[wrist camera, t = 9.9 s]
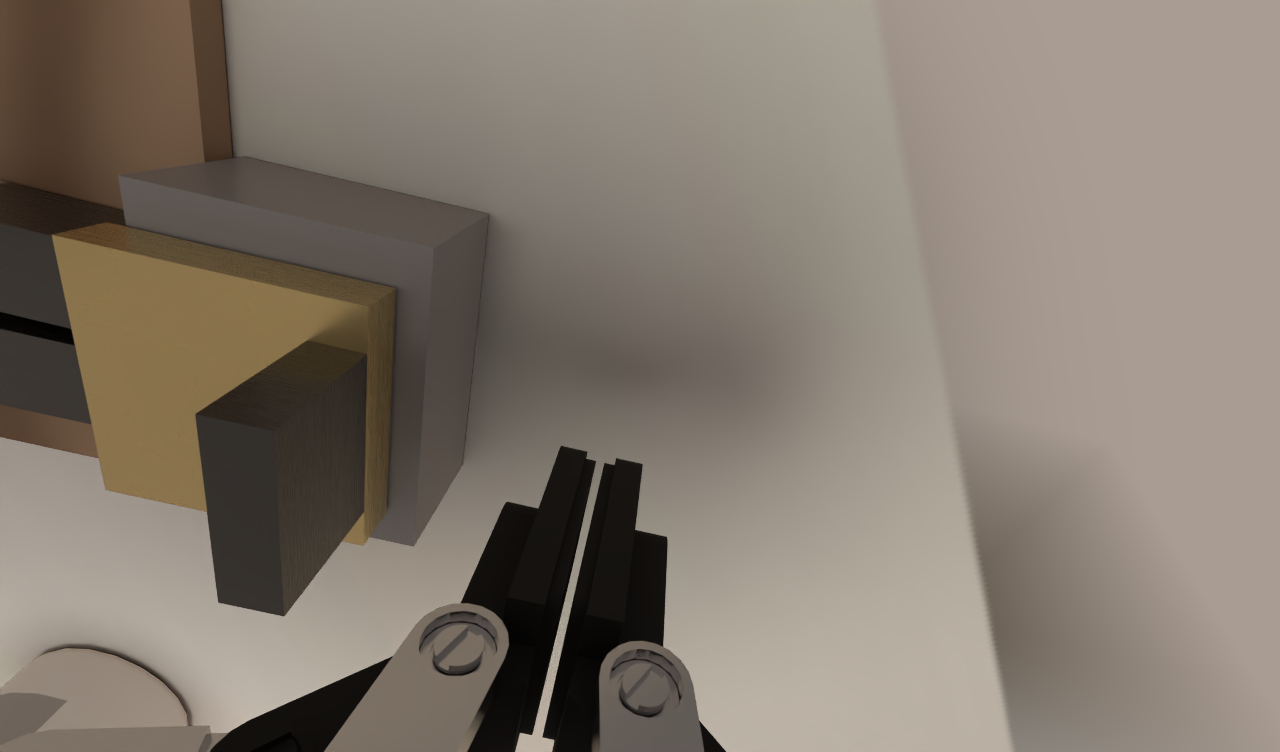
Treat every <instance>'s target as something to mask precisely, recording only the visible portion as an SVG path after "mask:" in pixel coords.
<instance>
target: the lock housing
mask: <svg viewBox="0 0 1280 752" xmlns="http://www.w3.org/2000/svg"><path fill="white" fill-rule="evenodd" d="M118 178H119V184H120V191H121V197H122V203H123V210H124V216H125V223H126V227H130V228H135V229H139V230H143V231H148V232H152V233H156V234H161V235H165V236H169V237H174V238H178V239H183V240H187V241H191V242H196V243H200V244H204V245H209V246H213V247H217V248H222V249H226V250H231V251H235V252H239V253H244V254H248V255H252V256H257V257H261V258H265V259H270V260H274V261H279V262H283V263H287V264H292V265H296V266H300V267H305V268H309V269H314V270H318V271H322V272H327V273H331V274H335V275H340V276H344V277H348V278H353V279H357V280H362V281H366V282H370V283H375V284H379V285H383V286H388V287H392V288H396V294H395V319H394V343H393V368H392V392H391V417H390V441H389V466H388V490H387V513H386V515H385V516H384V517H383V519H382V520H381V522H380V523H379V524H378V526H377V527H376V529H375V530H374V531H373V533H372V534H371V536H370V537H373V538H377V539H382V540H386V541H391V542H396V543H400V544H405V545H409V546H414V545H415V543H416V542H417V540H418V538H419V537H420V535H421V533H422V532H423V530H424V528H425V527H426V525H427V523H428V522H429V520H430V518H431V517H432V515H433V513H434V512H435V510H436V508H437V507H438V505H439V503H440V502H441V500H442V498H443V497H444V495H445V493H446V492H447V490H448V488H449V487H450V485H451V483H452V482H453V480H454V478H455V477H456V475H457V473H458V472H459V470H460V468H461V467H462V465H463V456H464V447H465V437H466V428H467V418H468V409H469V399H470V390H471V380H472V371H473V361H474V352H475V343H476V333H477V324H478V314H479V305H480V295H481V286H482V276H483V267H484V257H485V248H486V239H487V229H488V220H489V214H487V213H483V212H479V211H475V210H470V209H466V208H462V207H457V206H453V205H449V204H445V203H440V202H436V201H432V200H427V199H423V198H419V197H415V196H410V195H406V194H402V193H398V192H393V191H389V190H385V189H380V188H376V187H372V186H368V185H363V184H359V183H355V182H351V181H346V180H342V179H338V178H333V177H329V176H325V175H321V174H316V173H312V172H308V171H304V170H299V169H295V168H291V167H286V166H282V165H278V164H274V163H269V162H265V161H261V160H256V159H252V158H248V157H238V158H231V159H224V160H217V161H211V162H204V163H197V164H191V165H184V166H177V167H170V168H164V169H157V170H150V171H143V172H137V173H130V174H123V175H118Z"/></svg>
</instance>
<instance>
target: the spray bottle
mask: <svg viewBox="0 0 1280 752" xmlns="http://www.w3.org/2000/svg"><path fill="white" fill-rule="evenodd" d="M173 726H188V722H187V714H186V712H185V710H184V708H183V706H182V705H181V703H180V701H179V699H178V698H177V697H176V696H175V695H174V693H173V692H172V691H171V690H170V689H169V688H168V687H167V686H166V685H165V684H164V683H163V682H162V681H160V680H159V679H157V678H156V677H155V676H153V675H152V674H150V673H149V672H147V671H146V670H144V669H143V668H141V667H140V666H137V665H135V664H133V663H131V662H128V661H126V660H124V659H122V658H119V657H117V656H115V655H111V654H107V653H103V652H99V651H95V650H91V649H72V648H64V649H61V650H57V651H53V652H49V653H46V654H43V655H41V656H39V657H37V658H36V659H34V660H33V661H32V662H31V663H29V664H28V665H27V666H26V667H25V668H23V669H22V670H21V671H20V672H19V673H18V674H17V675H15V676H14V677H13V678H12V679H11V680H10V681H9V682H7V683H6V684H5V685H4V686H3V687H2V688H1V689H0V745H1V744H4V743H6V742H9V741H11V740H13V739H16V738H18V737H21V736H23V735H26V734H29V733H35V732H41V731H47V730H56V729H95V728H134V727H173Z"/></svg>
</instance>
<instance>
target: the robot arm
mask: <svg viewBox="0 0 1280 752" xmlns="http://www.w3.org/2000/svg"><path fill="white" fill-rule="evenodd" d="M586 457H587V452H586V451H582V450H577V449H573V448H568V447H564V446H561V447H560V450H559V452H558V455H557V458H556V461H555V464H554V466H553V469H552V472H551V475H550V478H549V480H548V483H547V486H546V489H545V492H544V495H543V497H542V500H541V503H540V506H539V509H538V508H533V507H529V506H524V505H519V504H515V503H510V502H506V503H505V505H504V507H503V509H502V511H501V513H500V515H499V518H498V520H497V522H496V524H495V527H494V529H493V531H492V534H491V536H490V538H489V540H488V543H487V545H486V547H485V549H484V552H483V554H482V556H481V558H480V561H479V563H478V565H477V567H476V570H475V572H474V574H473V577H472V579H471V581H470V583H469V586H468V588H467V590H466V592H465V595H464V597H463V599H462V601H461V604H450V605H447V606H443V607H440V608H437V609H435V610H434V611H432V612H430V613H429V614H427V615H425V616H424V617H423V618H422V619H421V620H420V621H419V622H418V623H417V624H416V625H415V627H414V628H413V629H412V631H411V632H410V633H409V635H408V636H407V638H406V639H405V640H404V642H403V643H402V644H401V646H400V647H399V649H398V650H397V651H396V653H395V654H394V656H392V657H390V658H388V659H386V660H383V661H381V662H379V663H377V664H374V665H372V666H370V667H368V668H365V669H363V670H361V671H359V672H357V673H354V674H352V675H350V676H348V677H345V678H343V679H341V680H339V681H336V682H334V683H332V684H330V685H327V686H325V687H323V688H321V689H318V690H316V691H314V692H312V693H309V694H307V695H305V696H303V697H300V698H298V699H296V700H294V701H292V702H289V703H287V704H285V705H283V706H280V707H278V708H276V709H274V710H271V711H269V712H267V713H265V714H262V715H260V716H258V717H256V718H253V719H251V720H249V721H247V722H246V723H244V724H242V725H240V726H239V727H237V728H235V729H234V730H232V731H230V732H229V733H211V730H210V726H173V727H134V728H95V729H56V730H47V731H41V732H35V733H29V734H26V735H23V736H21V737H18V738H16V739H13V740H11V741H9V742H6V743H4V744H1V745H0V752H515V750H516V746H517V742H518V738H519V734H520V733H524V734H529V735H532V734H533V730H534V725H535V721H536V717H537V713H538V709H539V705H540V701H541V696H542V692H543V688H544V684H545V680H546V676H547V671H548V667H549V663H550V659H551V655H552V651H553V646H554V642H555V638H556V634H557V630H558V626H559V622H560V617H561V613H562V609H563V605H564V601H565V597H566V592H567V588H568V584H569V580H570V576H571V571H572V567H573V563H574V558H575V554H576V549H577V545H578V540H579V536H580V531H581V527H582V522H583V518H584V513H585V509H586V504H587V500H588V495H589V491H590V486H591V482H592V477H593V473H594V468H595V464H596V461H593V460H589V459H586ZM641 475H642V464H640V463H635V462H631V461H626V460H622V459H617V458H616V462H615V465H611V464H607V463H604V467H603V472H602V476H601V480H600V485H599V489H598V493H597V498H596V502H595V506H594V511H593V515H592V520H591V524H590V528H589V533H588V537H587V541H586V546H585V550H584V554H583V559H582V563H581V567H580V572H579V576H578V581H577V585H576V590H575V594H574V598H573V603H572V607H571V612H570V616H569V621H568V625H567V630H566V634H565V639H564V643H563V648H562V652H561V657H560V661H559V665H558V670H557V674H556V679H555V683H554V688H553V692H552V697H551V701H550V706H549V710H548V715H547V719H546V724H545V728H544V733H543V737H544V738H548V739H553V740H555V741H554V746H553V751H552V752H726V751H725V750H724V749H723V748H722V746H721V745H720V744H719V743H718V742H717V741H716V739H715V738H714V737H713V736H712V735H711V734H710V733H709V731H708V730H707V729H706V728H705V727H704V726H703V724H702V723H701V722H700V721H699V717H698V711H697V705H696V699H695V693H694V687H693V683H692V680H691V677H690V674H689V672H688V670H687V669H686V667H685V666H684V664H683V663H682V661H681V660H680V659H679V658H678V657H677V656H675V655H674V654H673V653H672V652H671V651H670V650H668V649H666V648H664V647H663V638H664V615H665V591H666V568H667V537H665V536H660V535H656V534H651V533H646V532H642V531H637V530H635V525H636V517H637V508H638V500H639V491H640V483H641Z"/></svg>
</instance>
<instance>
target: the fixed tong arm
mask: <svg viewBox="0 0 1280 752" xmlns="http://www.w3.org/2000/svg"><path fill="white" fill-rule="evenodd" d="M0 405H4V406H9V407H13V408H18V409H23V410H27V411H32V412H36V413H41V414H45V415H50V416H55V417H59V418H64V419H68V420H73V421H77V422H82V423H87V424H91V425H92V423H91V418H90V414H89V409H88V404H87V400H86V395H85V390H84V385H83V381H82V376H81V371H80V367H79V362H78V357H77V352H76V348H75V343H74V338H73V333H72V329H70V328H66V327H62V326H58V325H53V324H49V323H45V322H41V321H37V320H32V319H28V318H24V317H20V316H16V315H12V314H7V313H3V312H0Z"/></svg>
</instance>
